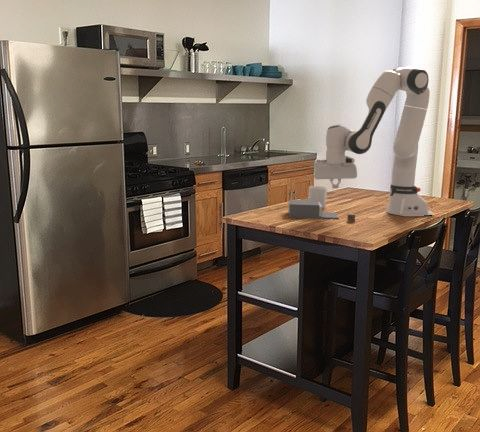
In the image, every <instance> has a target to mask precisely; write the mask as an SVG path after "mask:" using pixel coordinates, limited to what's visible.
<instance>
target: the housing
mask: <svg viewBox="0 0 480 432" xmlns="http://www.w3.org/2000/svg"><path fill="white" fill-rule="evenodd" d="M289 217H290V218H292V219H293V218H296V219H297V218H298V219H299V218H300V219H323V220H324V219H325V220H327V219H328V220H329V219H330V220H339V216H338V215H337V213H336V212H333V211H331V212H330V211H329V212H328V211H327V212H326V211H322V216H319V203H318V201H317V200H308V199H288V218H289Z"/></svg>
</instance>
